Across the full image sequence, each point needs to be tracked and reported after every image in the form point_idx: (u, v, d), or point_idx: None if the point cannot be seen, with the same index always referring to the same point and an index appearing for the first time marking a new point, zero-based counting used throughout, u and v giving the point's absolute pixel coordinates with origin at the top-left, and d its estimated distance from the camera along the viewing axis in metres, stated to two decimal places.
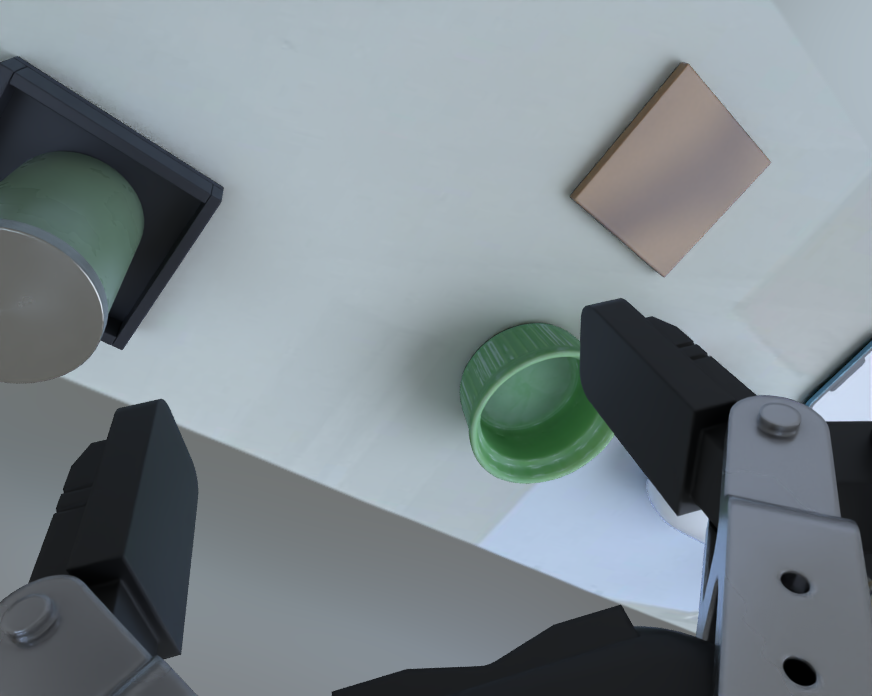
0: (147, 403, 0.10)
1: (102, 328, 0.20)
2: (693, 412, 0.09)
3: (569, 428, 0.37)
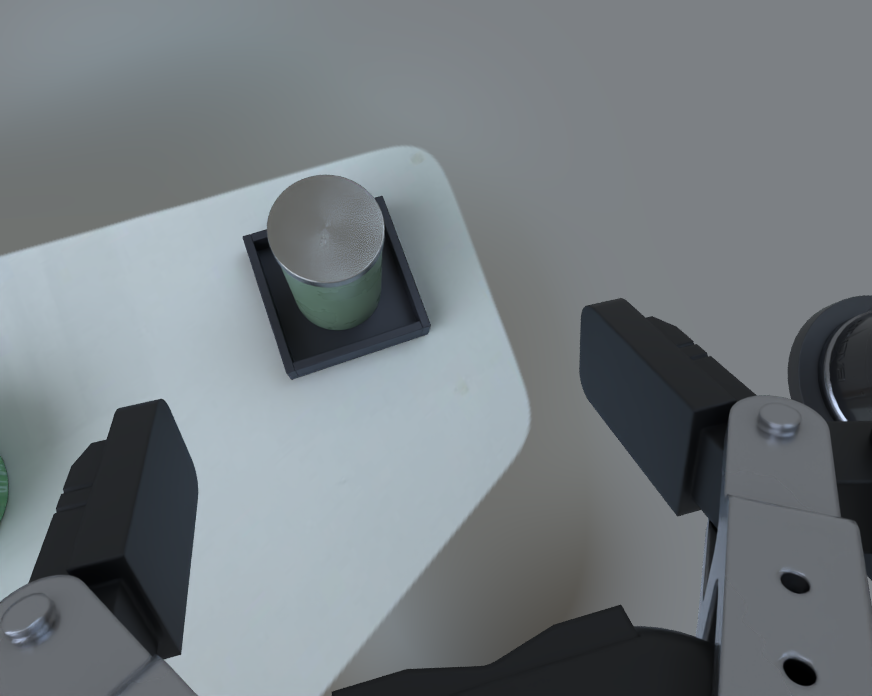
0: (147, 403, 0.10)
1: (278, 260, 0.28)
2: (693, 412, 0.09)
3: None
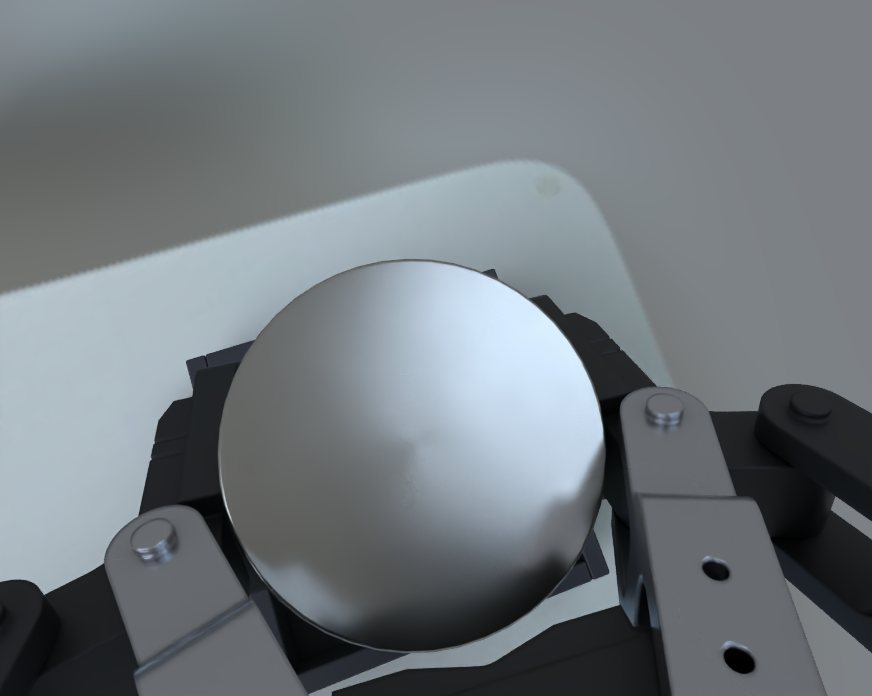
0: (225, 364, 0.11)
1: (254, 568, 0.08)
2: None
3: None
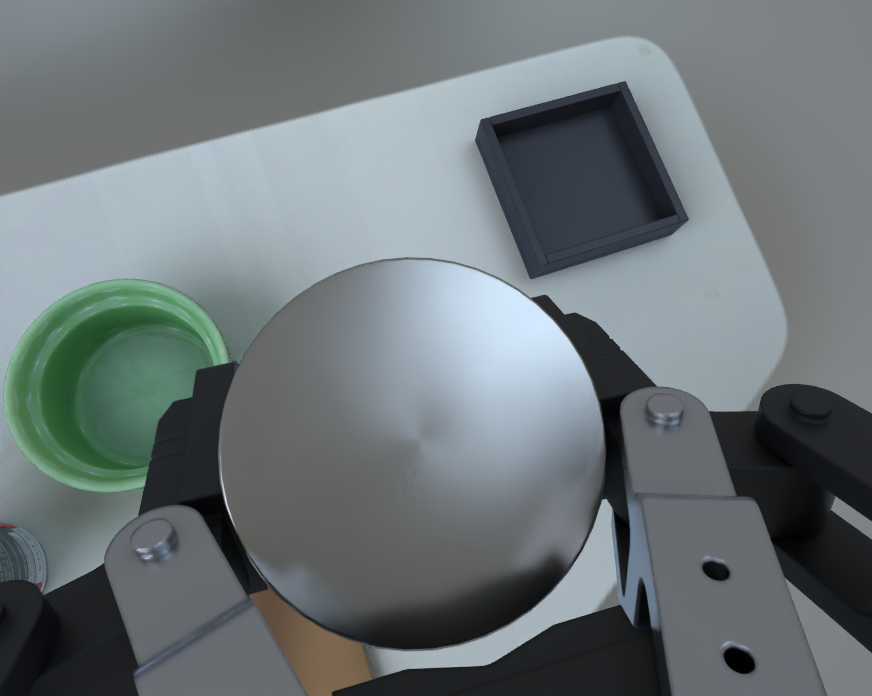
0: (225, 364, 0.11)
1: (254, 566, 0.08)
2: None
3: (55, 405, 0.27)
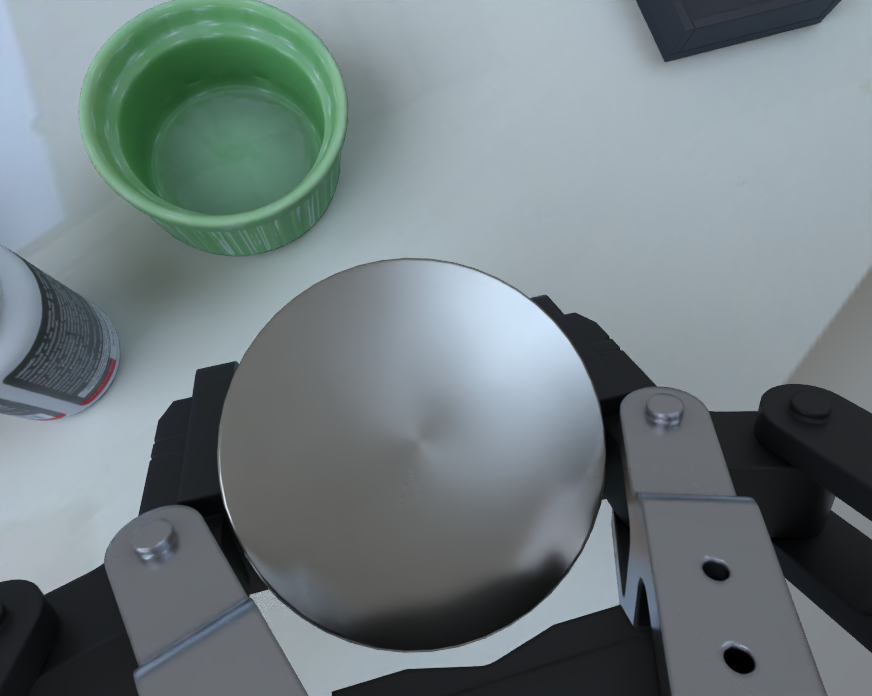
0: (225, 364, 0.11)
1: (253, 567, 0.08)
2: None
3: (132, 151, 0.23)
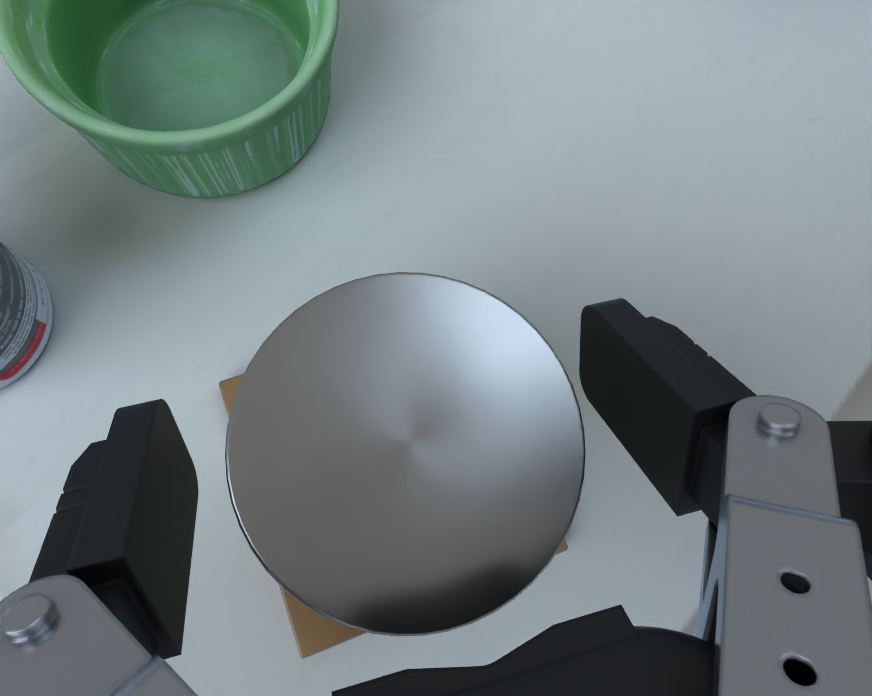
0: (147, 403, 0.10)
1: (259, 558, 0.09)
2: (693, 412, 0.09)
3: (68, 61, 0.18)
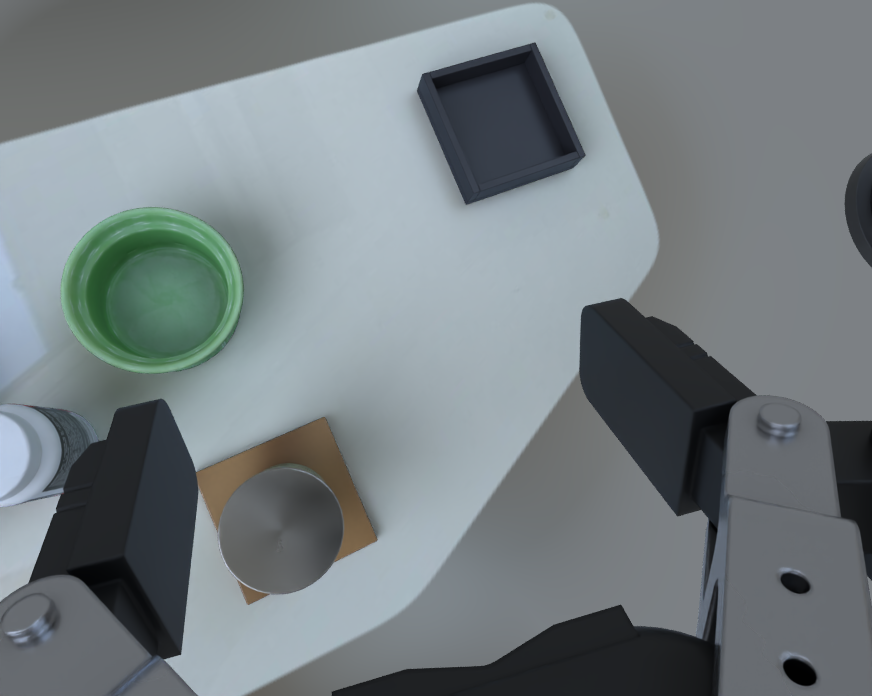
0: (147, 403, 0.10)
1: (233, 574, 0.27)
2: (693, 412, 0.09)
3: (95, 312, 0.34)
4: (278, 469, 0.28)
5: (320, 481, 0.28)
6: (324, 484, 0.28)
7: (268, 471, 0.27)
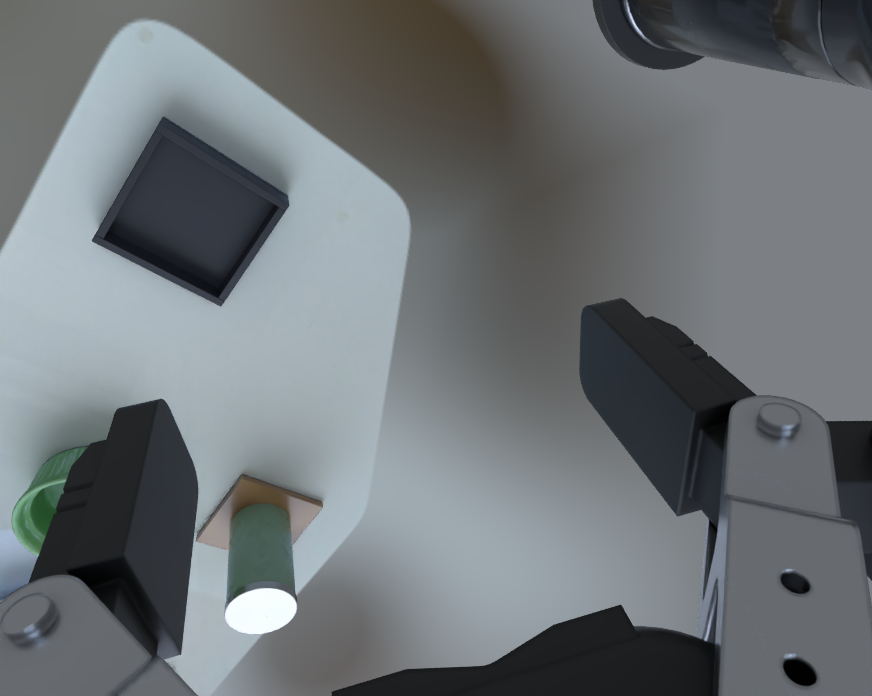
0: (147, 403, 0.10)
1: None
2: (693, 412, 0.09)
3: None
4: (237, 597, 0.46)
5: (262, 589, 0.46)
6: (265, 588, 0.46)
7: (233, 600, 0.46)
